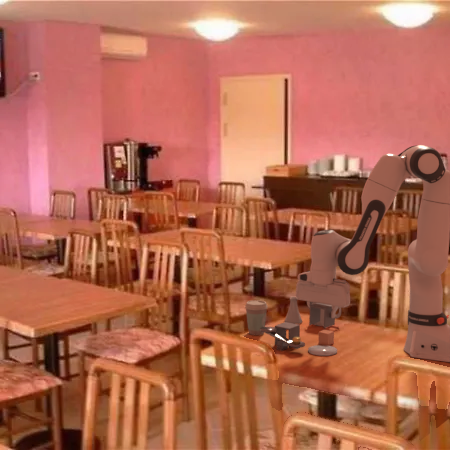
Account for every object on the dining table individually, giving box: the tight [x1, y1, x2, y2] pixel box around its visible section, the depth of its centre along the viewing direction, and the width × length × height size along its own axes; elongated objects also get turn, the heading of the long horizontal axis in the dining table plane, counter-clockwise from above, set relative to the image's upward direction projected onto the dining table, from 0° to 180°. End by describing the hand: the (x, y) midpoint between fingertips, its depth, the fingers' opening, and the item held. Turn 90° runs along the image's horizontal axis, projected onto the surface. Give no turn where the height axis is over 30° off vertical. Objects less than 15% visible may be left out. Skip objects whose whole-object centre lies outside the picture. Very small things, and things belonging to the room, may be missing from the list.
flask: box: [284, 296, 303, 325], centre depth 308 cm, size 7×7×10 cm
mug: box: [312, 302, 342, 327], centre depth 305 cm, size 12×8×11 cm
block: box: [318, 329, 335, 346], centre depth 279 cm, size 4×4×4 cm
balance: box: [260, 326, 306, 352], centre depth 273 cm, size 18×6×6 cm, turn 51°
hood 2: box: [308, 303, 336, 329], centre depth 268 cm, size 6×6×7 cm
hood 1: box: [274, 321, 301, 349], centre depth 278 cm, size 6×6×7 cm
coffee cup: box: [244, 299, 269, 336], centre depth 292 cm, size 8×9×12 cm
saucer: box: [307, 344, 338, 357], centre depth 269 cm, size 10×10×1 cm
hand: (322, 315), depth 268 cm, fingers closed on hood 2, 6 cm apart
